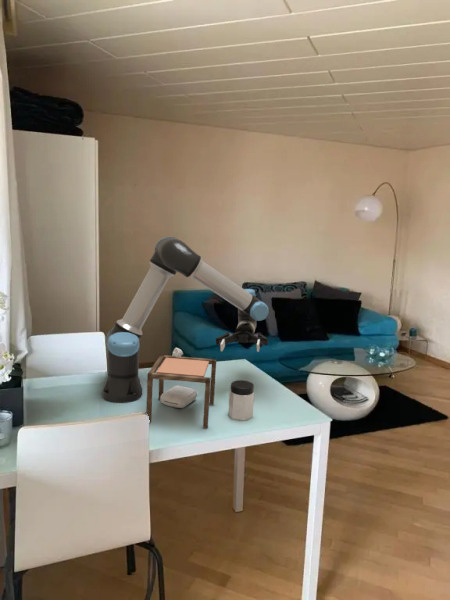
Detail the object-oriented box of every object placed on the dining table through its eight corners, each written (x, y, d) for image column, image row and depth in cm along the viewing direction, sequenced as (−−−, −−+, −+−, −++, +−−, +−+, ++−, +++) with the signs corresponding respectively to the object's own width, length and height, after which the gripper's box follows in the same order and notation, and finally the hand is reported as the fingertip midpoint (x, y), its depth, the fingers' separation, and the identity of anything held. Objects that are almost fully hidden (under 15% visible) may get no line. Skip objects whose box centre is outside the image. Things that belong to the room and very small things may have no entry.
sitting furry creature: (160, 372, 213) (161, 346, 211) (176, 369, 218) (178, 343, 216) (171, 378, 206) (172, 352, 204) (188, 375, 211) (189, 349, 209)
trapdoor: (156, 374, 163) (156, 371, 163) (165, 360, 178) (166, 357, 178) (203, 378, 162) (203, 375, 161) (208, 363, 177) (208, 361, 177)
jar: (225, 418, 171) (227, 386, 168) (230, 409, 179) (232, 378, 176) (250, 422, 169) (252, 390, 167) (254, 413, 177) (256, 382, 174)
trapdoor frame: (146, 422, 164) (147, 373, 160) (159, 398, 184) (160, 354, 181) (207, 428, 162) (210, 379, 159) (213, 403, 183) (216, 359, 179)
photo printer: (174, 394, 189) (157, 405, 178) (174, 383, 189) (157, 394, 178) (197, 399, 185) (181, 411, 174) (198, 389, 184) (181, 400, 173)
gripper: (275, 340, 198) (273, 357, 178) (215, 340, 202) (206, 357, 181) (275, 322, 197) (273, 338, 176) (214, 322, 200) (205, 338, 180)
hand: (239, 348), depth 179 cm, fingers open, 13 cm apart
